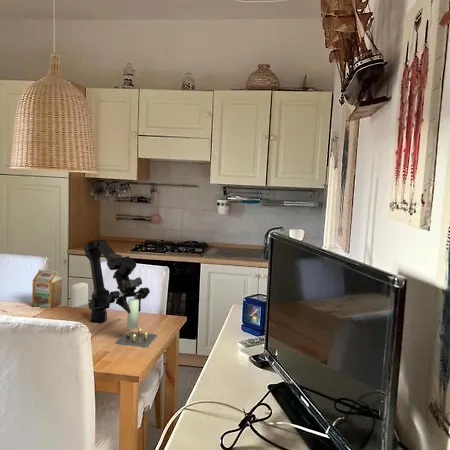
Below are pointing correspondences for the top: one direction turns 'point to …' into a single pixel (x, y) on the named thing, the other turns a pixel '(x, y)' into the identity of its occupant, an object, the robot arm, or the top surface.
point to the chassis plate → (136, 338)
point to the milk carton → (47, 289)
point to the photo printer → (78, 295)
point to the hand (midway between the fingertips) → (134, 312)
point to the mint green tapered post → (133, 314)
